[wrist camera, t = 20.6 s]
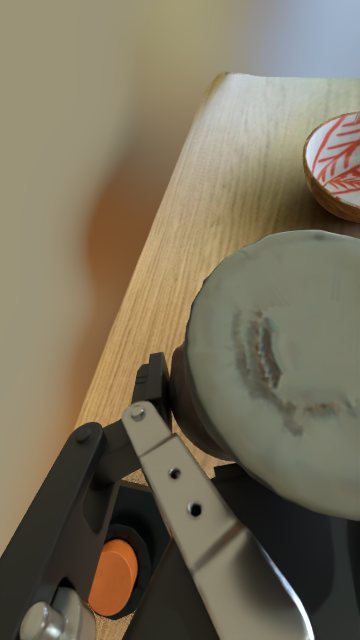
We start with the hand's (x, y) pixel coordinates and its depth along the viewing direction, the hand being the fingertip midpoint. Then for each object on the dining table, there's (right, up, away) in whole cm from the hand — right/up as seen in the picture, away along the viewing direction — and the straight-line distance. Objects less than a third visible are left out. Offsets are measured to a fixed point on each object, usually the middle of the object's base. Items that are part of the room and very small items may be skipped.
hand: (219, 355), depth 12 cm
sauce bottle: (+1, -5, +9) cm, 11 cm away
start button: (-9, -26, +13) cm, 30 cm away
